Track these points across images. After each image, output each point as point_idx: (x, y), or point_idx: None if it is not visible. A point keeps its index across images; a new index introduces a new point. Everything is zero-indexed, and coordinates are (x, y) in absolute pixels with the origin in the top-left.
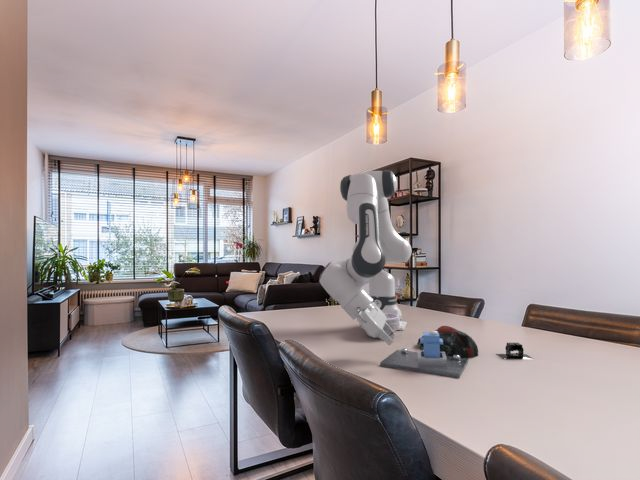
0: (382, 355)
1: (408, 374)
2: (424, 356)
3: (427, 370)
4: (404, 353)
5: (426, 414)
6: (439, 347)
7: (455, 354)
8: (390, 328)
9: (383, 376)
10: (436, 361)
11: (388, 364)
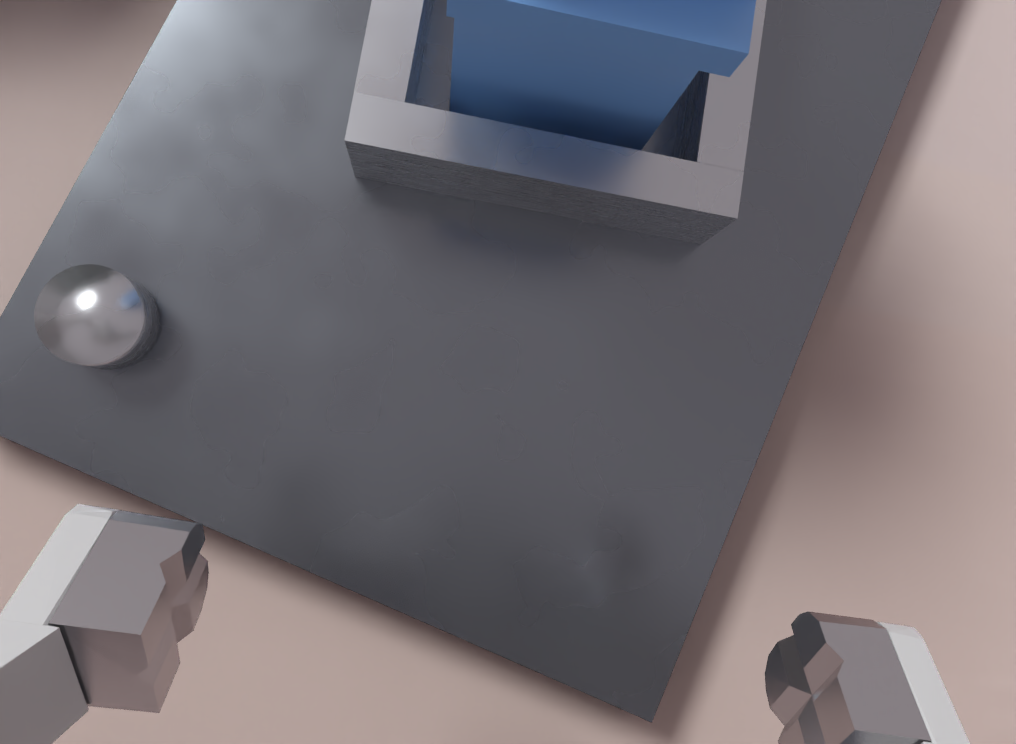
0: None
1: (912, 397)
2: (665, 113)
3: (864, 175)
4: (181, 332)
5: None
6: None
7: None
8: (11, 653)
9: (1007, 681)
10: None
11: (691, 609)
